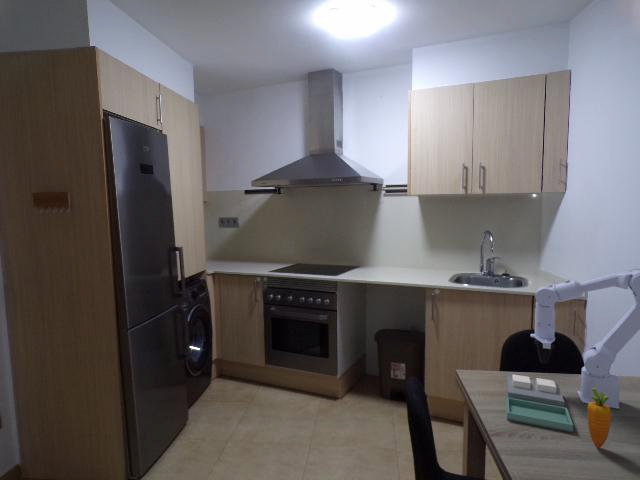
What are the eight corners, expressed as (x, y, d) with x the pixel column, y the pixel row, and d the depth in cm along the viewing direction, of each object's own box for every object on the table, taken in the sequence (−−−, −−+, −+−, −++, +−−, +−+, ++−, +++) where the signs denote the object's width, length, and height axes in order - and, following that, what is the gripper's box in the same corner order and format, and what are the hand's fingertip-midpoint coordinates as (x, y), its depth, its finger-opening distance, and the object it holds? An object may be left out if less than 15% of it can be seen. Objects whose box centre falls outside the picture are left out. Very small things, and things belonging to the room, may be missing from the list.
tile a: (553, 386, 120) (553, 380, 120) (556, 393, 115) (556, 387, 115) (536, 383, 122) (536, 377, 122) (537, 390, 118) (537, 384, 118)
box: (566, 415, 109) (566, 407, 109) (572, 433, 100) (573, 425, 100) (506, 403, 116) (506, 397, 116) (507, 419, 107) (507, 412, 107)
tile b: (529, 382, 123) (529, 376, 123) (530, 389, 118) (530, 383, 118) (512, 380, 125) (512, 374, 125) (512, 386, 121) (512, 380, 121)
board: (557, 393, 122) (557, 383, 122) (564, 413, 111) (564, 401, 110) (506, 385, 129) (507, 375, 128) (507, 402, 117) (508, 392, 117)
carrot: (614, 455, 91) (616, 396, 90) (591, 452, 92) (593, 394, 91) (603, 442, 96) (605, 386, 95) (582, 440, 97) (583, 385, 96)
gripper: (529, 316, 132) (528, 353, 133) (532, 327, 119) (531, 368, 120) (552, 318, 129) (551, 356, 130) (558, 330, 116) (557, 372, 117)
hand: (543, 362), depth 125 cm, fingers closed
